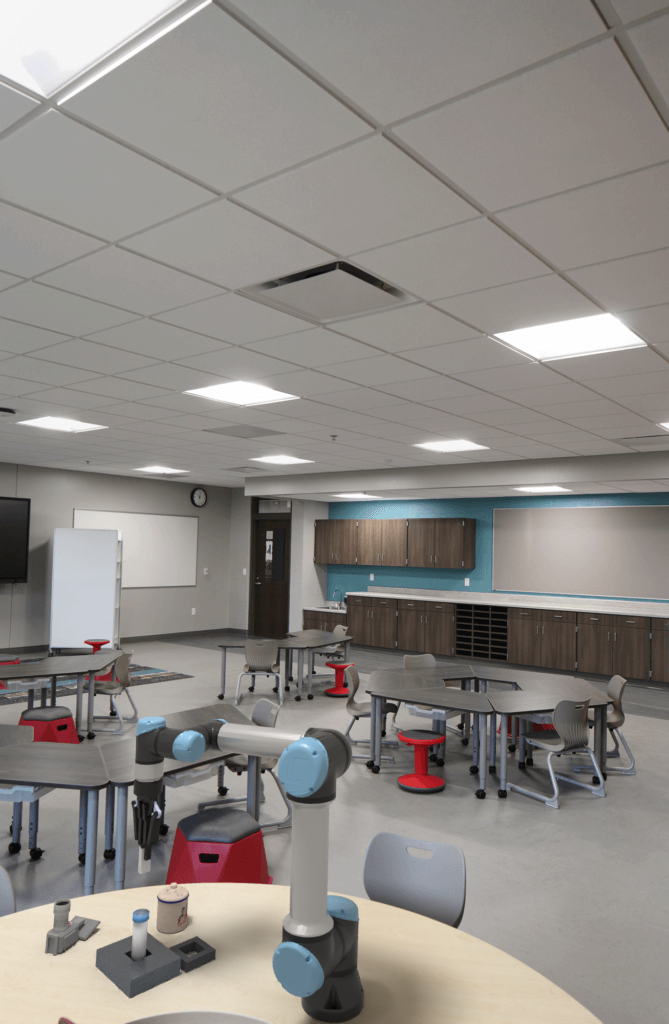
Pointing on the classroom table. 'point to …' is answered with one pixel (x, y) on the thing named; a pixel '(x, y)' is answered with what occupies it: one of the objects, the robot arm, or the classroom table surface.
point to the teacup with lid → (172, 909)
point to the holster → (197, 960)
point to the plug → (139, 934)
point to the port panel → (137, 965)
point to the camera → (67, 928)
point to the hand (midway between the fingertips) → (144, 871)
